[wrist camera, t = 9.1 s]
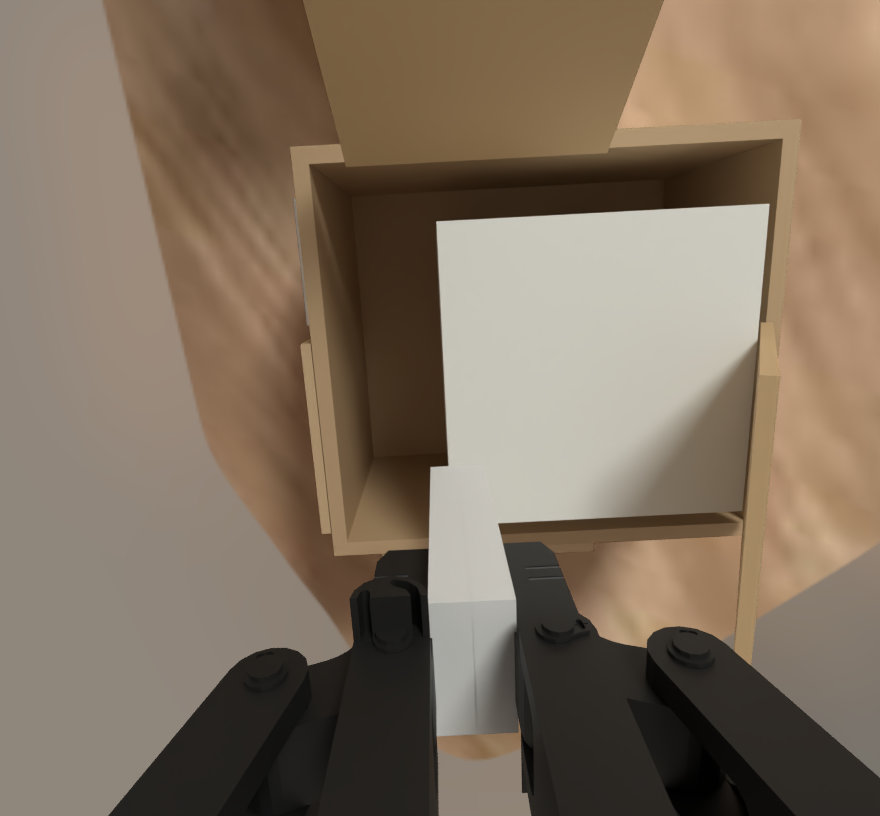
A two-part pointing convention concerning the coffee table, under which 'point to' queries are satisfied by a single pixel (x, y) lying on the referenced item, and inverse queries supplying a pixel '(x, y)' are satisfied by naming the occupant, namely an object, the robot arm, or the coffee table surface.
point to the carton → (544, 332)
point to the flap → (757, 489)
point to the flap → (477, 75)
